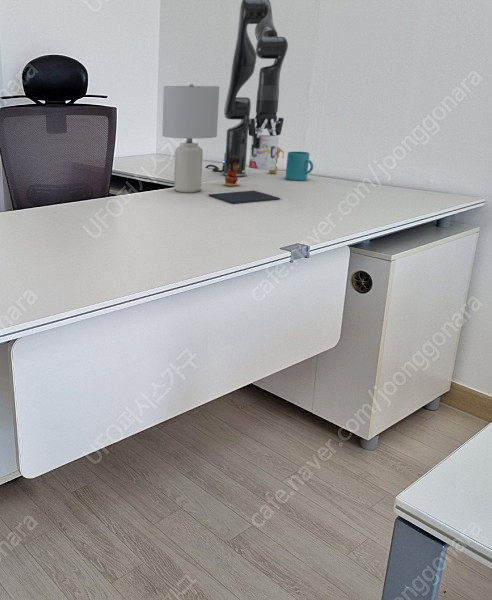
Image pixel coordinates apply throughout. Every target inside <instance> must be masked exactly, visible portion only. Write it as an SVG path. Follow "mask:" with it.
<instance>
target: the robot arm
mask: <svg viewBox="0 0 492 600" xmlns="http://www.w3.org/2000/svg"><path fill="white" fill-rule="evenodd" d="M248 25H256V26H255V28H254V35H255V38H256V41H257V42H256V46H254V45H253V43H252V41H251V38H250V36H249V32H248ZM236 35H237V36H236V42H235V47H234V53H233V58H232V62H231V63H232V66H231V70H230V71H231V72H230V80H229V85H228V89H227V93H226V98H225V103H224V111H223V112H224V117H225V119H226V120H231V121H232V120H237V121H238V120H239V121H240V122H239V123H238V124H236V125H234V126H232V127H228V128H227V129H226V138H225V152H224V159H223V162H222V167H221V168H222V169H221V170H220V168H219V167H218V166H217V165H214V164H207V165H206V166H205V169H208V168H210V167H211V168H212V171H213V172H215V173H223V176H226V175H227V172H228V171H229V169H230V167H229V166H228V165H227V164H226V160H227V157H229V156H233V155H235V156H238V157H239V159H240V161H241V163H240V165H239V168H238V170H236V171H237V178H238V177H239V178H240V177H245V176H246V171H247V170H246V165H247V155H248V154H247V153H248V139H249V137H251V138H252V137H253V138H254V139H253V147H254V148H255V149H259V142H260V138H259V137H260V135H262V133H263V132H264V130H267V132H268V134H269V135H270V136H277V137H278V136H280V135H281V133H282V130H283V129H282V128H283V124H284V121H285V120H284V118H283V117H278V115H277V113H278V111H279V98H280V80H281V71H282V67H283V64H284V60H285V58H286V55H287V52H288V49H289V43H288V40H287V38H286V37H285V36H279V34H278V31H277V29H276V27H275V25H274V17H273V8H272V4H271V1H270V0H241V3H240V7H239V15H238V24H237V33H236ZM258 58H259V59H260V60H261V59H262V60H274V61H273V63H272V64H270V65H266V66H262V67H261V68H260V69H259V73H258V84H257V85H258V86H257V92H256V102H255V103H256V104H255V117H253V118H250V116H251V109H252V103H251V102H252V101H251V99H250V98H249V97H248V96H237V95H238V93H239V92H240V90H241V89H242V87H243V86H245V84H246V83H247V82H248V81H249V80H250V79H251V78H252V76H253V75H254V73H255V69H256V63H257V59H258Z"/></svg>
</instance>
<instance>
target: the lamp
mask: <svg viewBox="0 0 492 600" xmlns="http://www.w3.org/2000/svg"><path fill="white" fill-rule="evenodd" d="M162 92H163V94H162V97H163V98H162V99H163V100H162V137H164V138H170V139H186V140H185V142H180V143H179V146H177V147H176V148H175V151H174V178H173V179H174V181H173V186H174V190H175V191H177V192H179V193H197V192H199V191H200V190H201V188H202V177H203V176H202V175H203V174H202V173H203V155H204V152H203V149H202V148H201V146H199V143H198V142H193V139H212V138H213V139H214V138H217V136H218V122H219V121H218V119H219V103H220V102H219V101H220V86H218V85H217V86H215V85H214V86H213V85H212V86H211V85H194V84H192V83H191V84H189V85H163V91H162Z"/></svg>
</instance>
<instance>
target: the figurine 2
mask: <svg viewBox="0 0 492 600" xmlns="http://www.w3.org/2000/svg"><path fill="white" fill-rule="evenodd" d="M280 153H282V159H284V158H285V152H284V151H283V149H282V148H281V147H279V145H277V154H276V163H275V170H268V172H269V173H270V174H272V175H273V174H276V173H277V171H278V166H277V164H278V160H279V158H280Z"/></svg>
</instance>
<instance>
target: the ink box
mask: <svg viewBox="0 0 492 600" xmlns="http://www.w3.org/2000/svg"><path fill="white" fill-rule="evenodd" d="M259 138H260V142H259V149H255V148H254V147H253V139H254V138H253V137H252V136H251V142H250V143H251V144H250V151H249V161H248V168H249V169H255V170H261V171H269V170H275V163H276V154H277V146H279V145H278V143H279V136H278V135H277V136H270V135H268V134H260V137H259Z"/></svg>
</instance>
